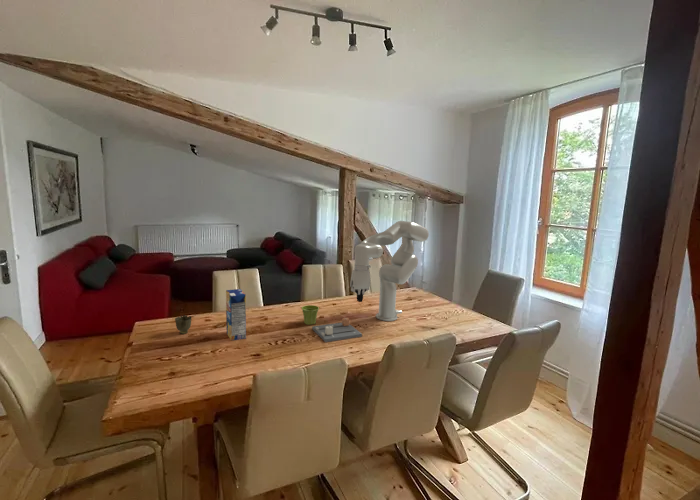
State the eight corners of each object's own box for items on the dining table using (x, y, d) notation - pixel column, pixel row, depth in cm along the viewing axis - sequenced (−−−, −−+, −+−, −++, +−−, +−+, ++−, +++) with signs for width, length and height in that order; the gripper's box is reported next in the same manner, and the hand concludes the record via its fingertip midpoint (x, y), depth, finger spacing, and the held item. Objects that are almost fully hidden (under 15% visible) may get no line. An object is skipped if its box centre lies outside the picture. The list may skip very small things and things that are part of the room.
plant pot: (315, 326, 198) (316, 311, 197) (298, 325, 200) (299, 309, 198) (320, 321, 207) (321, 306, 206) (304, 319, 209) (304, 304, 208)
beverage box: (231, 340, 176) (231, 296, 172) (226, 332, 185) (225, 290, 182) (245, 338, 179) (245, 294, 176) (240, 330, 189) (240, 288, 185)
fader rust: (347, 323, 199) (347, 317, 199) (349, 325, 197) (349, 318, 196) (342, 324, 198) (342, 318, 197) (344, 326, 196) (344, 319, 195)
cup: (195, 331, 185) (194, 316, 184) (184, 336, 178) (183, 321, 177) (183, 329, 187) (182, 314, 186) (172, 334, 180) (171, 318, 179)
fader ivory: (330, 332, 186) (330, 325, 186) (332, 334, 184) (332, 327, 184) (325, 333, 185) (325, 326, 184) (327, 335, 183) (327, 328, 182)
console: (346, 324, 204) (346, 320, 203) (361, 336, 188) (362, 331, 187) (312, 329, 195) (312, 324, 194) (325, 342, 179) (325, 337, 178)
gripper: (370, 265, 203) (368, 298, 205) (345, 267, 196) (344, 300, 199) (377, 268, 196) (375, 302, 199) (351, 270, 189) (350, 304, 192)
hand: (359, 301), depth 199 cm, fingers closed
